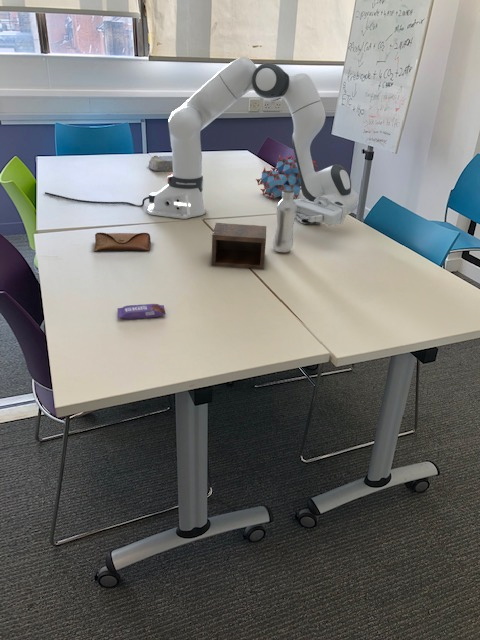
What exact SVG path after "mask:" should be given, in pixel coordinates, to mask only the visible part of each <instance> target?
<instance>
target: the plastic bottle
mask: <svg viewBox="0 0 480 640" xmlns="http://www.w3.org/2000/svg"><path fill="white" fill-rule="evenodd" d="M293 199H295V197H294V191H292V190H283V191H282V196H281V199H280V200H279V201H278V203H277V205H276V227H275V233H274V237H273V240H272V248H273V250H274V251H275V252H278V253H289V252H291V250H292V249H293V247H294V225H295V219H296V218H295V216H296V212H297V205H296V203H295V202H294V200H293Z"/></svg>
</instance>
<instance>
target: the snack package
mask: <svg viewBox="0 0 480 640" xmlns="http://www.w3.org/2000/svg"><path fill="white" fill-rule="evenodd" d="M116 309H117V319H124V320H138V319H151V318H159V317H161V316H166V315H167V313H166V309H165V305H164V304H159V303H146V304H131V305H125V306H122V307H117V308H116Z"/></svg>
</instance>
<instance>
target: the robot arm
mask: <svg viewBox="0 0 480 640" xmlns="http://www.w3.org/2000/svg"><path fill="white" fill-rule="evenodd" d="M251 91H254V93H255V94H256V95H257V96H258V97H260V98H261V99H262V100H265V101H272V102H275V101H279V100H280V99H282V100H283V101H284V102H285V104H286V105H287V108H288V110H289V114H290V116H291V119H292V124H293V125H292V126H293V132H292V135H291V144H292V148H293V153H294V156H295V157H294V158H295V160H296V162H297V166H298V171H299V175H300V182H301V186H300V188H301V190H300V192H301V193H302V196H303V197H304V198H297V199H296V198H293V200H294V202H295V203H296V205H297V212H296V214H298V215H301V216H304V217H306V218H308V221H309V222H320V224H324V225H326V226H331V227H334V226H338V225H343V224H344V222H345V217H346V216H347V215H350V214H352V213H353V212H354V211H355V210H356V209H357V207H358V206H359V203H360V202H359V201H360V199H359V195H358V193H357V192H356V191H355V190H354V189H353V188H352V179H351V176H350V173H349V172H348V170H347V169H346V168H345V167H343V166H342V165H340V164H337V163H335V164H332V165H330V166H328V167H325V168H323V169H321V170H317V171H318V172H317V171H315V168H314V167H313V164H314V162H312V161H313V158H312V155H311V145H312V142H313V140H314V139H315V138H316V136H317V135H318V134H319V133H320V131H321V130H322V129H323V127H324V125H325V122H326V111H325V107H324V104H323V101H322V99H321V96H320V94H319V91H318V89H317V87H316V85H315V83H314V82H313V80H312V78H311V77H310V75H309V74H307V73H296V74H294V75H291V76H289V74H288V73H287V72H285V70H284V69H283V68H282V67H281V66H279V65H277V64H275V63H273V62H263V63H261V64H259V65H258V66H257V65H256V64H255V63H254V62H253V61H252V60H251V59H250V58H249V57H247V56H240V57H237V58H236V59H235V60H233V61H231V62H230V63H228V64H227V65H226V66H224V67H223V68H221V70H219V71H218V72H217V73H216V74H215V75H214V76H212V77H211V78H210V79H209V80H208V81H207V82H205V84H203V85H202V86H201V87H200V88H199V89H198V90H197V91H196V92H195V93H194V94H193V95H191V96H190V97H189V98H188V99H187V100H186V101H185V102H184V103H183V104H182V105H180V106H179V107H178V108H176V109H175V110H173V111H172V112H171V113H170V116H169V118H168V132H169V140H170V147H171V154H172V155H171V156H172V157H173V171H172V172H169V174H168V175H167V184H166V185H165V186H164V187H162V188H161V189H160V190H158V191H157V192H153V191H152V192H151V193H150V194H148V196H146V197H144V198H143V199H142V203H141V204H140V205H137V204H135V203H131V202H129V201H96V200H95V201H94V200H84V199H77V198H72V197H67V196H63V195H59V194H54V193H50V192H46V191H45V192H44V194H45V195H48V196H52V197H56V198H61V199H64V200H68V201H74V202H78V203H85V204H86V203H87V204H101V205H103V204H106V205H116V204H117V205H122V204H123V205H129V206H133V207H138V208H142V207H144V206H145V201H147V200H148V203H150V204H149V206H148V208H147V214H148V215H151V216H159V217H164V218H165V217H167V218H173V219H180V220H181V219H182V220H186V219H190V218H196V217H200V216H202V215H204V214H206V211H207V210H206V208H205V204H204V197H203V190H204V176H203V152H202V144H201V131H202V130H204V129H205V128H206V127H208V126H209V125H210V124H211V123H212V122H213V121H215V120H216V119H217V118H218V117H220V116H221V115H222V114H223V113H225V112H226V111H227V110H228V109H229V108H230V107H231V106H233V104H235V103H236V102H237V101H239V100H240V99H241V98H242V97H243V96H244V95H245V94H248V93H249V92H251Z"/></svg>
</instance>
